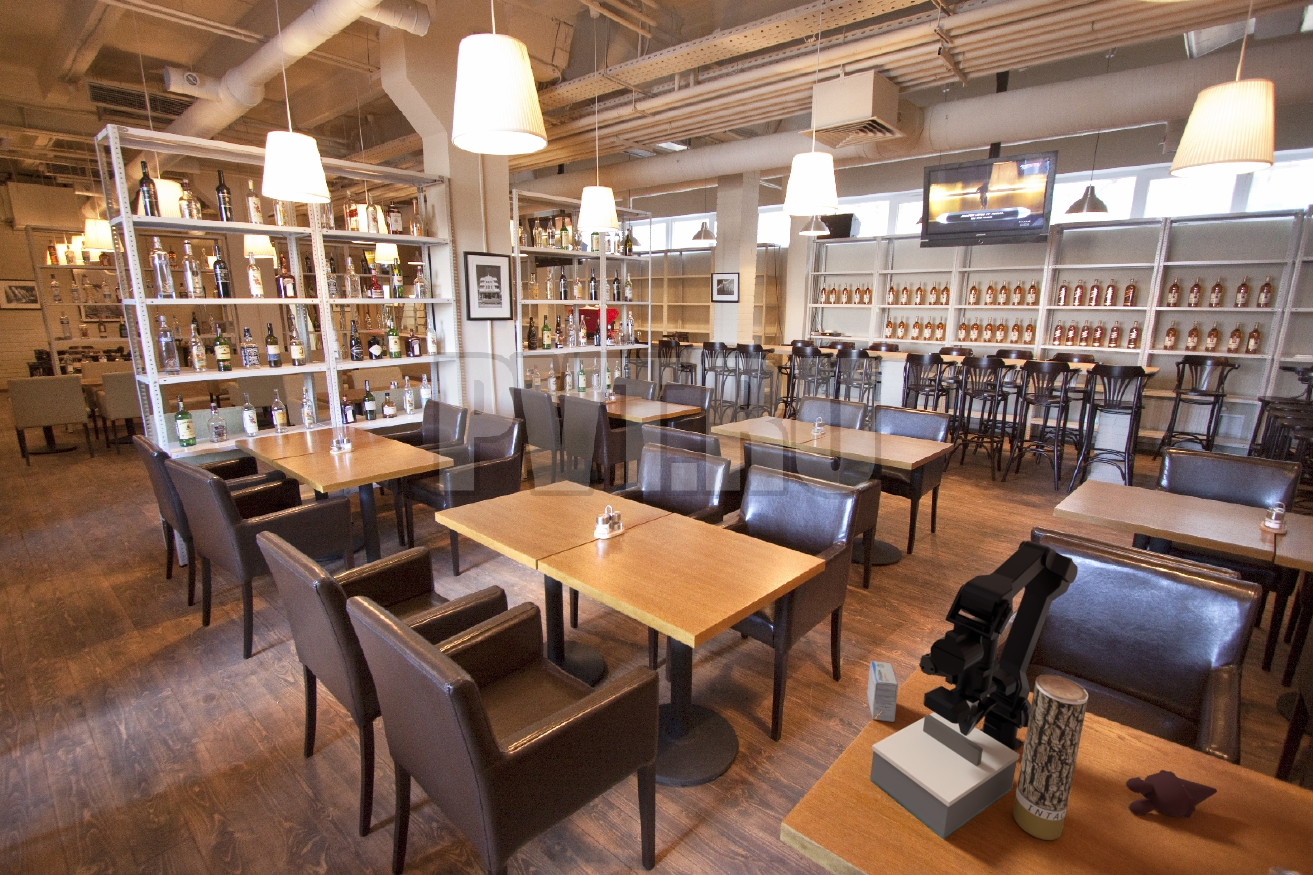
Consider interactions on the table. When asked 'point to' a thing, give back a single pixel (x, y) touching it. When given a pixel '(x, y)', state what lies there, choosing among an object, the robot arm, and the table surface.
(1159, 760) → the table surface
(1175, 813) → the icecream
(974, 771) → the lid
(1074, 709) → the paper tube
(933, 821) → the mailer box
